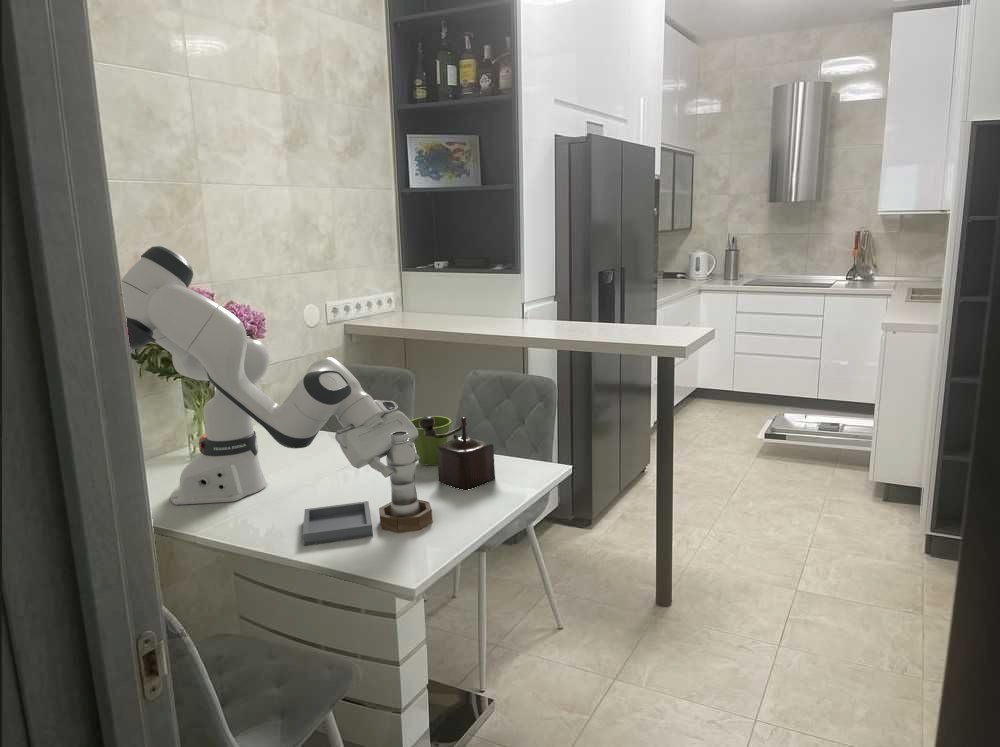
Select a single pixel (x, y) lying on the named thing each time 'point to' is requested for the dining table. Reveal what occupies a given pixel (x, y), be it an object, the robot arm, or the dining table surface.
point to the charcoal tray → (337, 523)
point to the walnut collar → (405, 519)
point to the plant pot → (430, 440)
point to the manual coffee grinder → (462, 457)
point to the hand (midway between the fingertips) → (403, 467)
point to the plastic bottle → (402, 476)
